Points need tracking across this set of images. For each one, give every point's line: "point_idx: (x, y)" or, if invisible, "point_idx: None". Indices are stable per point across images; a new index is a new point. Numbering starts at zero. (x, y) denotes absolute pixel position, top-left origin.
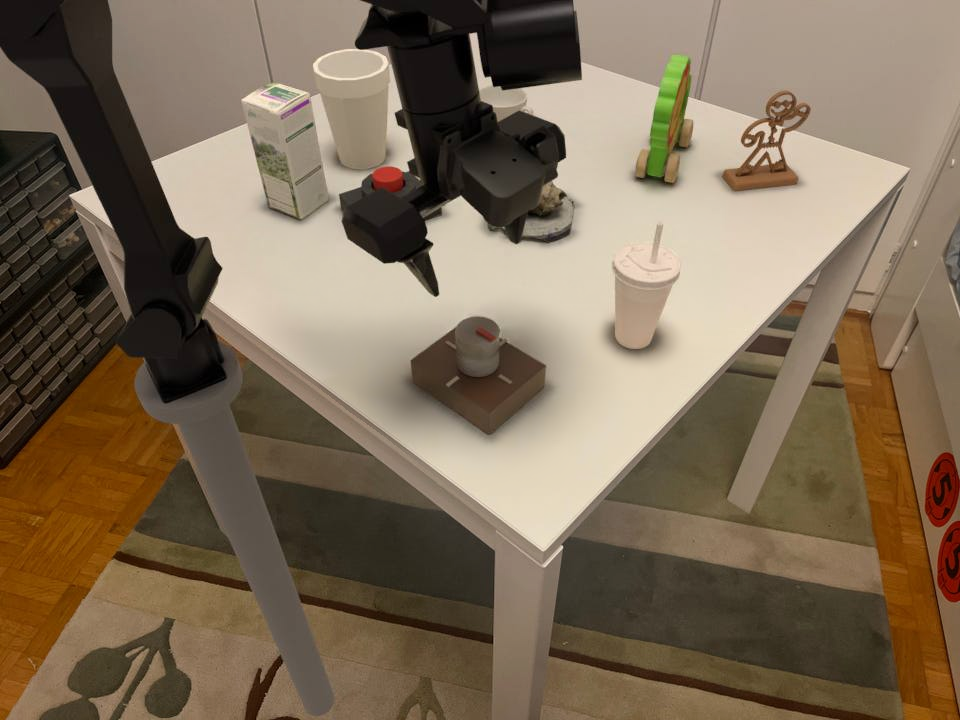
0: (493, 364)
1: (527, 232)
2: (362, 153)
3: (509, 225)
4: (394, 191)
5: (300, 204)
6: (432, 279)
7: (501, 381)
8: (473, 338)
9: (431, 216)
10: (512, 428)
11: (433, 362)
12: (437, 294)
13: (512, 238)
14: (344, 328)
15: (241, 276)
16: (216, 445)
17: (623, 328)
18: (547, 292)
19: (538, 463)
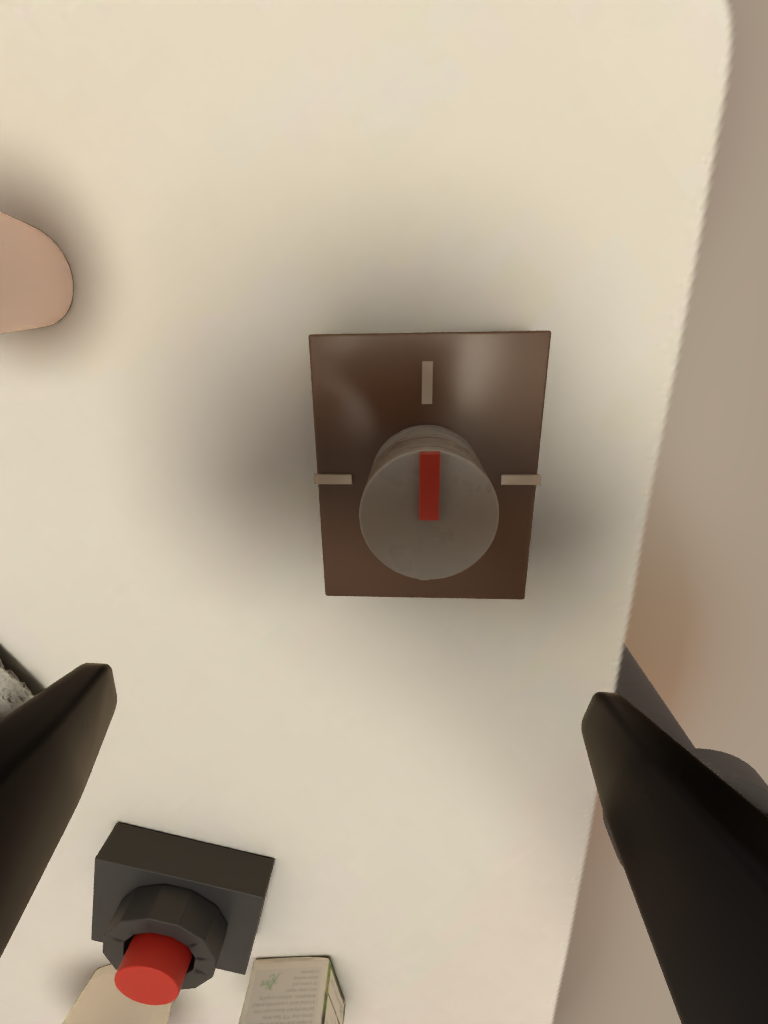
0: (428, 430)
1: (5, 682)
2: (133, 1015)
3: (58, 785)
4: (164, 936)
5: (317, 995)
6: (711, 793)
7: (437, 387)
8: (463, 504)
9: (138, 831)
10: (478, 303)
11: (496, 556)
12: (617, 699)
13: (101, 705)
14: (481, 747)
15: (499, 930)
16: (655, 702)
17: (30, 270)
18: (96, 535)
19: (529, 168)
